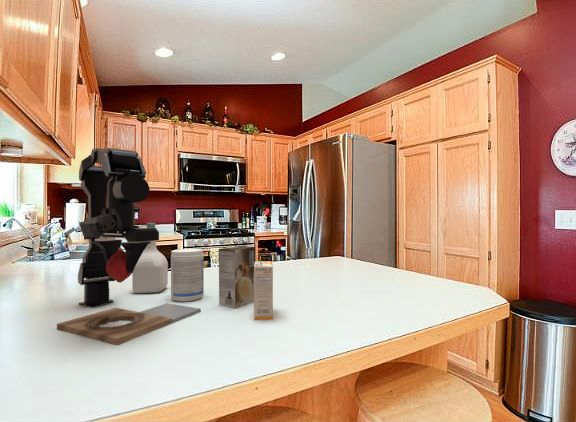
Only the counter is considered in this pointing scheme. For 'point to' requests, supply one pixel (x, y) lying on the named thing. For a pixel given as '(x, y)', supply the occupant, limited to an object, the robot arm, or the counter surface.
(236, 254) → the coffee box
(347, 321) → the counter surface
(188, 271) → the supplement tub
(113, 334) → the walnut bore board
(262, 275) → the supplement box
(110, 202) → the robot arm
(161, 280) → the soap bottle
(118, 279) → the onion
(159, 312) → the plate
